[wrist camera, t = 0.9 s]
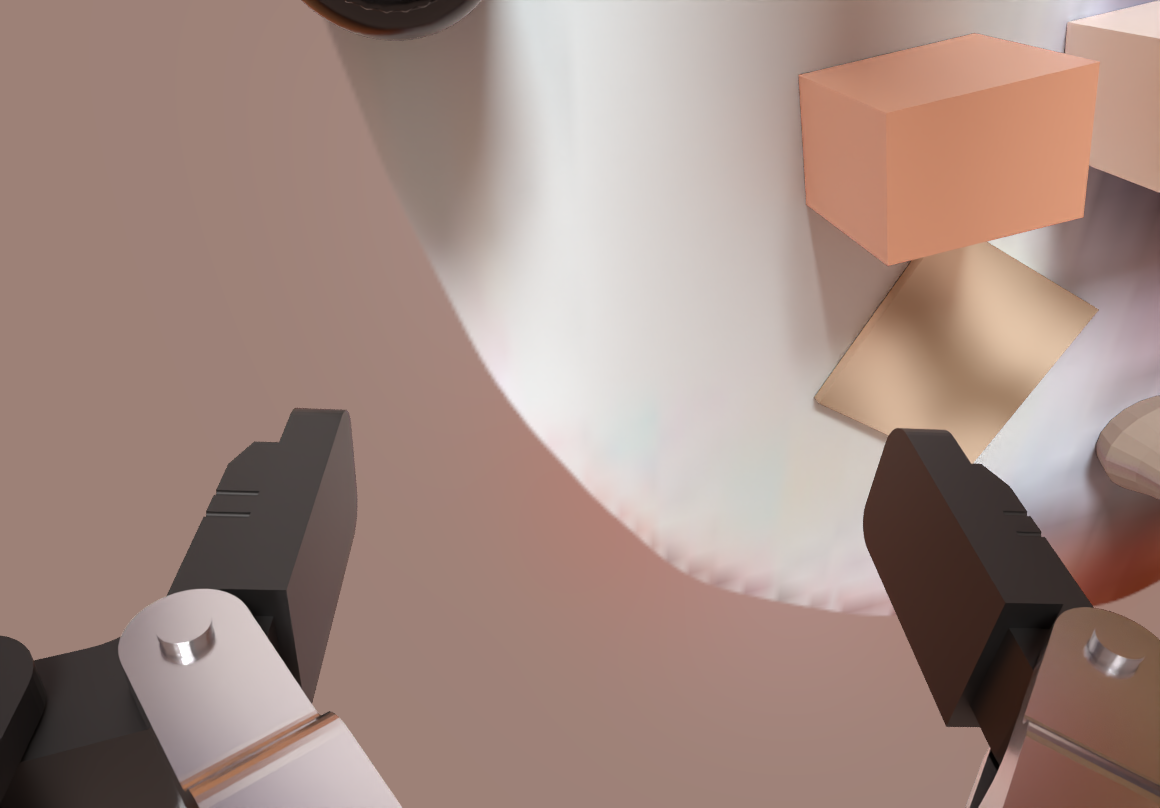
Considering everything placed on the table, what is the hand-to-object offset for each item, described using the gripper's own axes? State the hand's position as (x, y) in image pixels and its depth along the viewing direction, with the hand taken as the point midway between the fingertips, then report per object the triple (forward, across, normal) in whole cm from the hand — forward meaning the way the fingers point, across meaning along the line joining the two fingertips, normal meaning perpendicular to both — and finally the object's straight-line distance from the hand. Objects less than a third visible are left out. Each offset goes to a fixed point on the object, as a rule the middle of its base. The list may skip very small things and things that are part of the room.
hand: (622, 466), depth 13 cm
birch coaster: (+26, +19, -12) cm, 35 cm away
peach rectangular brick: (+26, +13, -2) cm, 29 cm away
